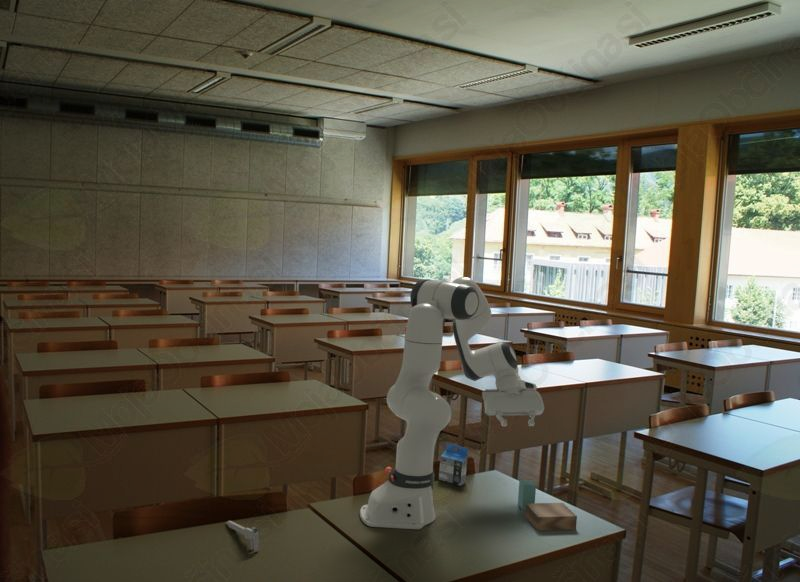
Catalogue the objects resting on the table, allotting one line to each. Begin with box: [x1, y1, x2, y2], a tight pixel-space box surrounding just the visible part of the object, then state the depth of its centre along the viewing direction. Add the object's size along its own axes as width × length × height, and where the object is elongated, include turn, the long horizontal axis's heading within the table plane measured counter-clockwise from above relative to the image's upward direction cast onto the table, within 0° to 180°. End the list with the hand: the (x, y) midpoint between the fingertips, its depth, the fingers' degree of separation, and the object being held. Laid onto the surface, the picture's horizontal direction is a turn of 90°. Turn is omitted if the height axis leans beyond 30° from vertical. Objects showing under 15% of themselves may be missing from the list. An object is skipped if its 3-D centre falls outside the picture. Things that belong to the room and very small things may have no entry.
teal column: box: [517, 479, 537, 511], centre depth 214 cm, size 4×4×8 cm
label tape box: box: [438, 442, 469, 486], centre depth 233 cm, size 9×4×12 cm, turn 55°
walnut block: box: [524, 502, 578, 531], centre depth 203 cm, size 12×10×4 cm
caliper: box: [225, 520, 260, 553], centre depth 182 cm, size 20×1×6 cm, turn 36°
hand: (518, 425), depth 223 cm, fingers open, 8 cm apart
